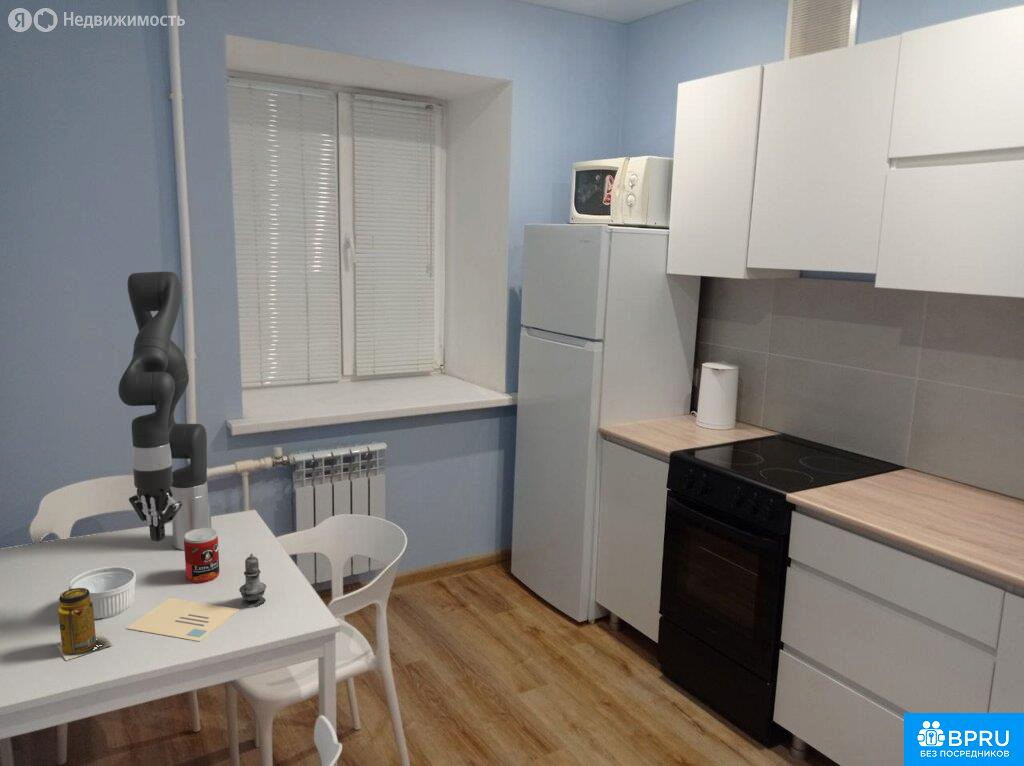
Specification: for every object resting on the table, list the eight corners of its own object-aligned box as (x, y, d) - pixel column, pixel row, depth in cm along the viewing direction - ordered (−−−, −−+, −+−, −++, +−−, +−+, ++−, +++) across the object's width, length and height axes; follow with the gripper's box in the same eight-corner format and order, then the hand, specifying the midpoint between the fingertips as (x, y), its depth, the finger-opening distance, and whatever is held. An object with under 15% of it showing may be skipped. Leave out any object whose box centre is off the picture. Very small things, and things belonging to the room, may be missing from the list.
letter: (170, 598, 173) (170, 597, 173) (239, 609, 169) (239, 608, 169) (125, 628, 160) (125, 627, 160) (199, 641, 156) (199, 640, 156)
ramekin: (146, 609, 168) (144, 580, 167) (80, 629, 159) (78, 599, 158) (127, 588, 178) (124, 561, 176) (64, 606, 169) (61, 577, 167)
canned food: (192, 586, 179) (190, 543, 177) (181, 574, 185) (178, 532, 183) (224, 577, 184) (222, 535, 182) (212, 566, 190) (210, 525, 188)
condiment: (56, 646, 153) (50, 591, 150) (102, 632, 158) (97, 579, 156) (65, 661, 147) (60, 605, 145) (112, 646, 153) (108, 591, 151)
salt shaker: (258, 609, 169) (256, 560, 167) (234, 606, 170) (232, 557, 168) (271, 597, 175) (269, 549, 172) (248, 594, 176) (246, 546, 174)
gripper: (190, 463, 162) (194, 538, 165) (142, 455, 166) (147, 529, 170) (163, 473, 155) (168, 551, 158) (114, 464, 159) (120, 541, 163)
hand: (157, 539), depth 164 cm, fingers closed
